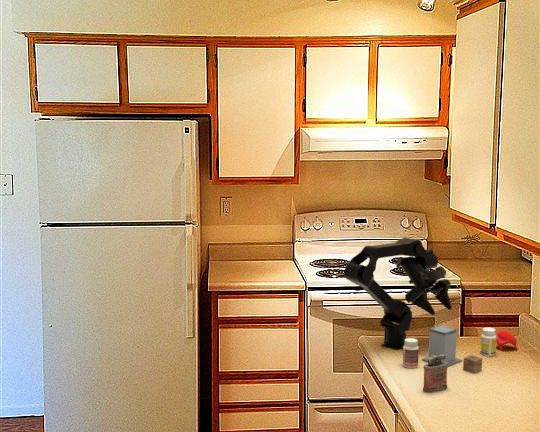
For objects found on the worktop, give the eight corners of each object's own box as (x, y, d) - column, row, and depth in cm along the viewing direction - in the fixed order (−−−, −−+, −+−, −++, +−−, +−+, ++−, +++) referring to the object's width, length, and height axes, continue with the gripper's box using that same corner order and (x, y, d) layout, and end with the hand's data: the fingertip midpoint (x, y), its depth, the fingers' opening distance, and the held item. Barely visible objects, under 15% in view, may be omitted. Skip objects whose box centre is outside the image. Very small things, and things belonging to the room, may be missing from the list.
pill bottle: (421, 367, 218) (422, 341, 217) (407, 369, 217) (408, 343, 216) (413, 362, 223) (413, 336, 222) (399, 364, 221) (400, 338, 220)
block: (463, 370, 216) (463, 357, 216) (470, 367, 219) (470, 354, 218) (474, 373, 213) (474, 361, 213) (481, 370, 216) (482, 358, 215)
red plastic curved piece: (493, 342, 232) (510, 334, 230) (490, 331, 238) (507, 323, 235) (505, 358, 235) (521, 351, 233) (502, 347, 240) (518, 340, 238)
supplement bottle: (494, 351, 232) (495, 327, 231) (497, 356, 228) (498, 331, 226) (479, 351, 233) (480, 326, 232) (482, 356, 228) (483, 331, 227)
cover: (428, 358, 224) (429, 328, 223) (439, 354, 228) (440, 325, 227) (444, 364, 220) (445, 333, 218) (455, 359, 224) (456, 329, 222)
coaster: (421, 360, 224) (421, 358, 224) (438, 353, 230) (438, 352, 230) (445, 368, 218) (445, 366, 218) (462, 361, 224) (462, 359, 224)
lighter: (427, 393, 198) (429, 360, 197) (420, 389, 201) (421, 356, 199) (449, 388, 202) (451, 355, 200) (441, 384, 205) (443, 351, 203)
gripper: (413, 263, 226) (441, 303, 220) (447, 255, 238) (474, 293, 232) (393, 282, 233) (419, 322, 227) (427, 274, 245) (453, 311, 239)
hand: (442, 311), depth 231 cm, fingers open, 9 cm apart
